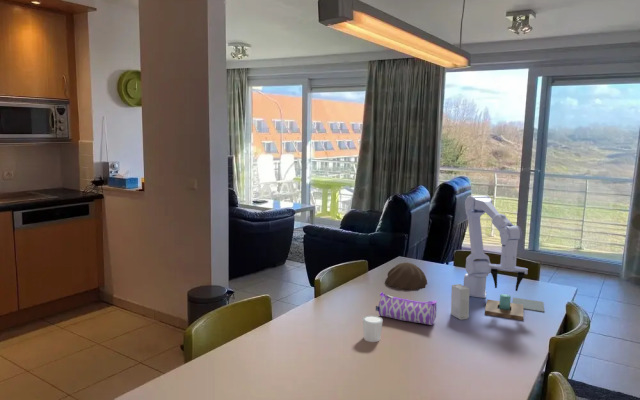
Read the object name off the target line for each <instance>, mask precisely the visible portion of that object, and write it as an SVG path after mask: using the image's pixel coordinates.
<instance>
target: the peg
mask: <svg viewBox="0 0 640 400" xmlns="http://www.w3.org/2000/svg"><path fill="white" fill-rule="evenodd" d="M511 300H512V297H511V295H509V294H505V293H503V294H499V301H500V303H499V308H498V309H502V310H509V311H511V310H510V303H511Z"/></svg>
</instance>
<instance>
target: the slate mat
mask: <svg viewBox="0 0 640 400" xmlns="http://www.w3.org/2000/svg"><path fill="white" fill-rule="evenodd" d="M512 303H515V304H521V305H523V310H527V311H534V312H539V313H545V312H546V311H545V306H544V305H545V304H544V301H541V300H532V299H525V298H519V297H512Z"/></svg>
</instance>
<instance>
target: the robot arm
mask: <svg viewBox="0 0 640 400" xmlns="http://www.w3.org/2000/svg"><path fill="white" fill-rule="evenodd" d="M464 208H465V215H466V216H467V224H468V233H469V243H470V254H469V255H468V256H467V257H466V258H465V270H466V273H464V276H463V286H465V287H467V288H469V289H470V291H469V297H476V298H483V299H486V297H487V291H486V290H487V287H486V286H487V277H489V275H490V273H491V276H492V279H493V282H494V289H498V273H499V272H498V271H501V272H502V271H503V272H511V273H517V274H516V282H515V283H516V284H515V292H518V290H519V286H520V284H521V282H522V281H523V279H524V277H525V275H528V270H529V269H528V268H526V267H521V266H517V254H518V246H519V245H518V243H519V240H520V241H521V239H522V236H523V232H522V229H521V226H519V225H516V224H513V223H512V222H511V221H510V219H508V218H507V216H506V215H505V214H504V213H499V211H498V209H496V207H495V205H493V199H492V198H491V197H490V195H487V194H486V195H468V196H467V197H466V198H465V201H464ZM485 214H487V216H488V217H489V218H491V223H492V224H493V226H494V228H496V229H497V231H498V233H499V238H500V244H501V252H500V263H498V264H497V263H491V261H490V256H489V255H487V254H486V253H485V251H484V243H483V233H482V224H481V217H482V216H483V215H485Z"/></svg>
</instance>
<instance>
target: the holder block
mask: <svg viewBox="0 0 640 400" xmlns="http://www.w3.org/2000/svg"><path fill="white" fill-rule="evenodd" d="M499 303H500V300H494V299H487V300H486V304H485V308H484V315H487V316H494V317H500V318H506V319H512V320H518V321H524V309H523V305H521V304H515V303H513V302H510V311H509V310H502V309H499Z"/></svg>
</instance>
